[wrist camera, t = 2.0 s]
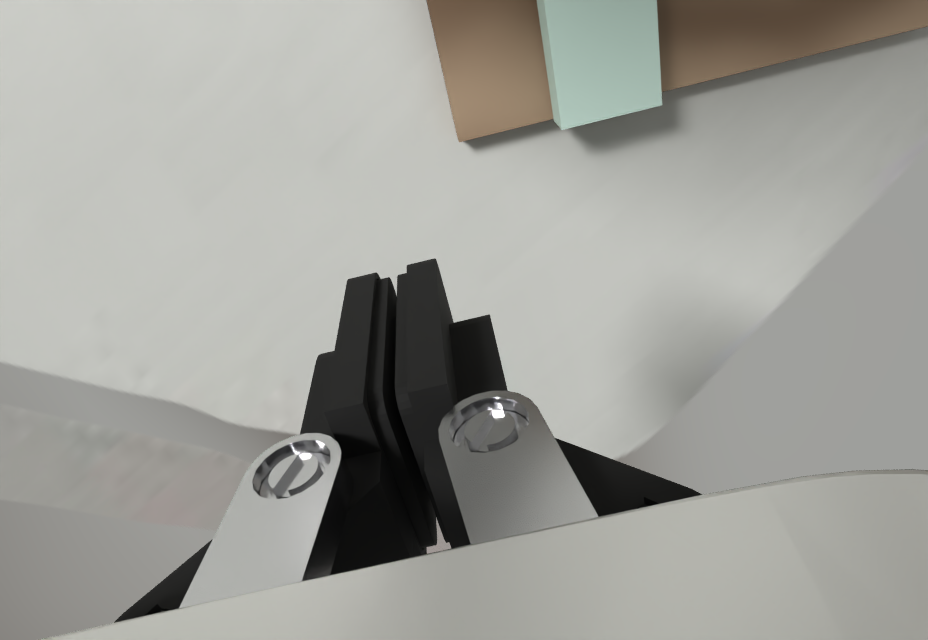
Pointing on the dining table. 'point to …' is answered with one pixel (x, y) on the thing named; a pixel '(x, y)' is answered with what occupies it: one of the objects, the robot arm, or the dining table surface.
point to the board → (680, 45)
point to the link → (600, 58)
